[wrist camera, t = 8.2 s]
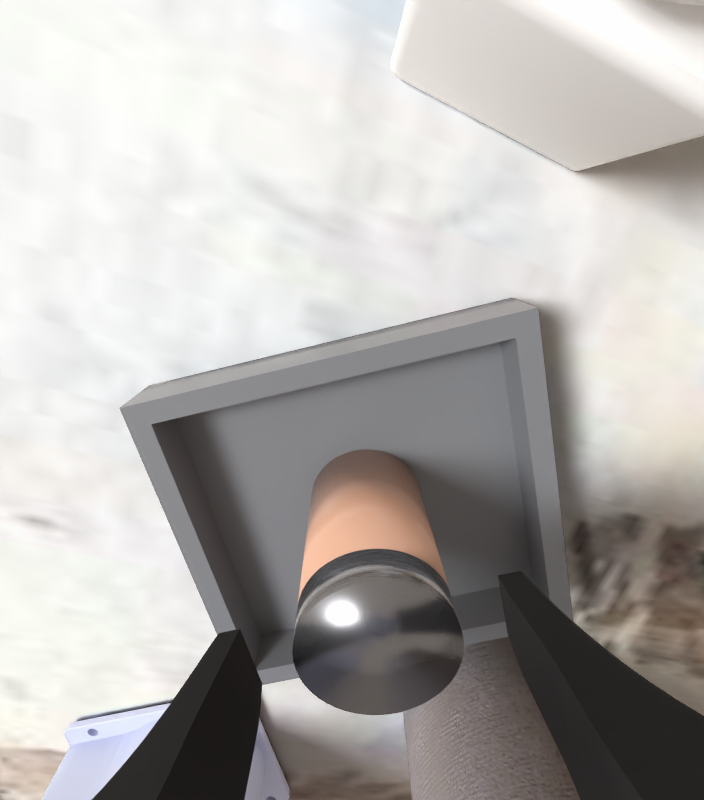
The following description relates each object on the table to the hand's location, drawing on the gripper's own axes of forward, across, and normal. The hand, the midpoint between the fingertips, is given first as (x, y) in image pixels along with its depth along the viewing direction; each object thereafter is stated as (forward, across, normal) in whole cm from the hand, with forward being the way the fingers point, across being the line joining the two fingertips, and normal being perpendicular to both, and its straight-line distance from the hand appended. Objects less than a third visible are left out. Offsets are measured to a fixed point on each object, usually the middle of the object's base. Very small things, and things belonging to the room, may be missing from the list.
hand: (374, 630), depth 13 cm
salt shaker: (+7, 0, 0) cm, 7 cm away
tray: (+7, 0, 0) cm, 7 cm away
